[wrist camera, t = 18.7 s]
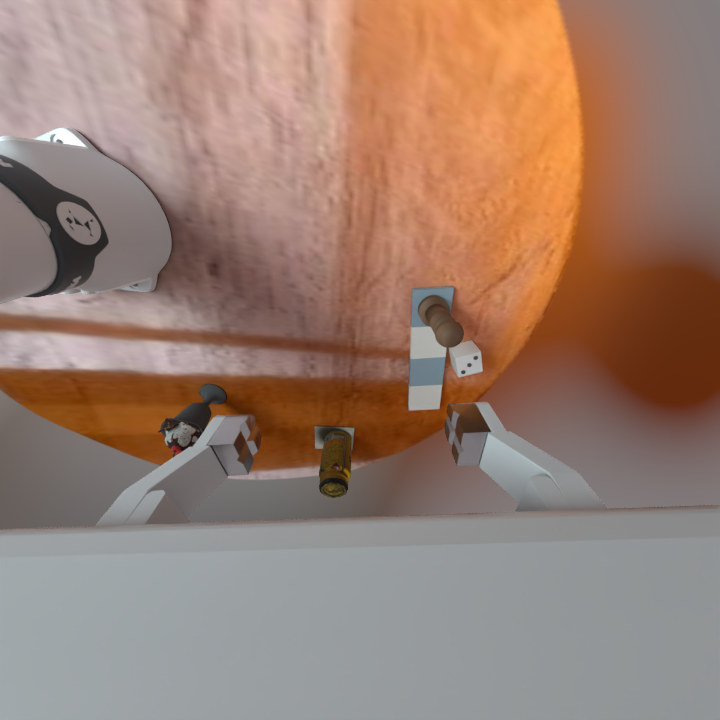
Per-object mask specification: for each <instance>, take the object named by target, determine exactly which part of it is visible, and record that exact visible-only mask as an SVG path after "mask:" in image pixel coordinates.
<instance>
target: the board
mask: <svg viewBox="0 0 720 720" xmlns="http://www.w3.org/2000/svg"><path fill="white" fill-rule="evenodd" d="M453 291H454V287H452V286H445V287H431V288H417V289H412V306H411V336H410V365H409V394H408V409H409V411H410V410H429V409H439V408H440V400H441V391H442V383H443V375H444V366H445V358H446V350H447V348H446V347H443V346H441V345H440V344H439V343H438V342H437V341H436V338H435V334H434V332H433V330H432V328H431V327H429V326H426V325H425V324H424V323H423V322H422V320H421V318H420V317H419V314H418V306H419V304H420V302H421V301H422V300H423V299H424V298H425V297H427V296H430V295H439V296H441V297H442V298H443V299H444V300H445V301H446V302H447V303H448V305H449V307H450V315H451V308H452V300H453Z"/></svg>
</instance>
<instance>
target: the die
mask: <svg viewBox="0 0 720 720" xmlns="http://www.w3.org/2000/svg"><path fill="white" fill-rule="evenodd" d="M448 349H449V355H450V361H451V365H452V367H453V369H454V371H455V373H456V374H457V376H458V378H459V377H463V376H467V375H471V374H475V373H479V372H483V369H482V358H481V351H480V350H479V349H478V347H477V346H476V345H475V344H474V342H473V341H472V340H470V341H467V342H463V343H459V344H458V345H457V346H455V347H452V348H448Z"/></svg>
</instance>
